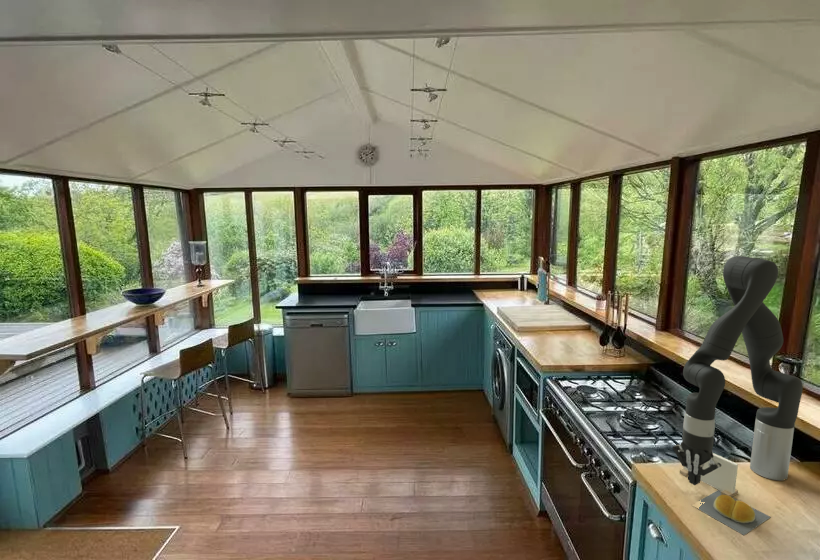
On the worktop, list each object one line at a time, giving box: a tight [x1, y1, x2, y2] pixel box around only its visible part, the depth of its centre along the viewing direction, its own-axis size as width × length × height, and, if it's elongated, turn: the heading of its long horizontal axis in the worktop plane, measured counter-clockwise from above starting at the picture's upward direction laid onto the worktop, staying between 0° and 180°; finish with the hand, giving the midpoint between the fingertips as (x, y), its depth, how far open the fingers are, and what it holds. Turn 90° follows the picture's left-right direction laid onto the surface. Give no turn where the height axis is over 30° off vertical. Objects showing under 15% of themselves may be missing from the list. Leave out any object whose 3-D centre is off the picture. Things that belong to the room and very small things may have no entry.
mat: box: [698, 489, 771, 536], centre depth 118 cm, size 14×13×1 cm
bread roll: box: [713, 495, 755, 523], centre depth 116 cm, size 8×9×4 cm
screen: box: [679, 452, 739, 498], centre depth 129 cm, size 5×14×10 cm, turn 27°
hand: (693, 483), depth 126 cm, fingers closed
